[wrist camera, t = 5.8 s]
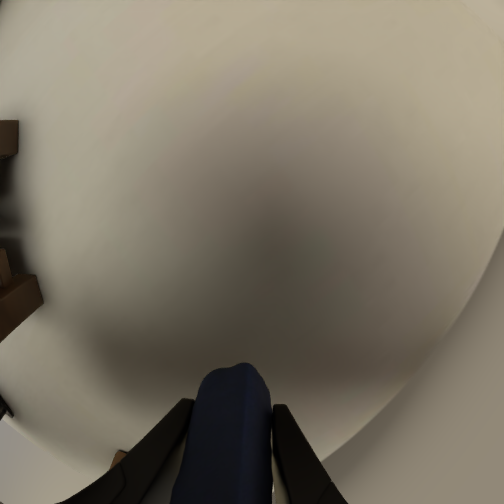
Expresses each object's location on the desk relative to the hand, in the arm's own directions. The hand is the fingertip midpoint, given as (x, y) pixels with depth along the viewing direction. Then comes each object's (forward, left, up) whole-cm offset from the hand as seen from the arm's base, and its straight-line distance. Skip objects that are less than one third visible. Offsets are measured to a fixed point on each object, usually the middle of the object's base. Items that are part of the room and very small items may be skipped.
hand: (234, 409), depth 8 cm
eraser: (0, 0, -1) cm, 1 cm away
